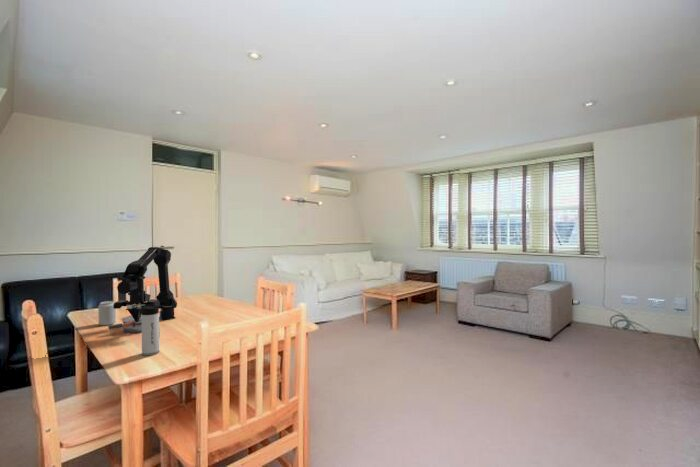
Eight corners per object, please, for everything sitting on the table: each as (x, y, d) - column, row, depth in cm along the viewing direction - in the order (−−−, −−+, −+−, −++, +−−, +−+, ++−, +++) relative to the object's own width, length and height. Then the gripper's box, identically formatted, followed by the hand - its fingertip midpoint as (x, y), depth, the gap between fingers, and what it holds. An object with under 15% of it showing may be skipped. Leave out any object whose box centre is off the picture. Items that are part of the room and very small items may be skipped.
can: (106, 326, 179) (106, 303, 178) (95, 325, 180) (94, 303, 180) (119, 322, 186) (118, 300, 186) (107, 321, 188) (107, 300, 187)
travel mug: (145, 350, 144) (145, 303, 144) (162, 350, 145) (161, 303, 144) (137, 356, 138) (137, 307, 138) (154, 355, 139) (154, 307, 138)
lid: (131, 316, 180) (131, 311, 180) (160, 315, 182) (160, 310, 182) (109, 327, 160) (109, 322, 160) (142, 326, 162) (142, 321, 162)
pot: (156, 322, 186) (156, 313, 186) (165, 327, 177) (165, 318, 176) (105, 332, 169) (105, 322, 169) (112, 338, 160) (112, 328, 160)
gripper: (164, 286, 172) (165, 317, 172) (126, 286, 171) (127, 317, 171) (153, 290, 161) (153, 323, 161) (112, 291, 159) (112, 324, 160)
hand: (137, 322), depth 164 cm, fingers closed
